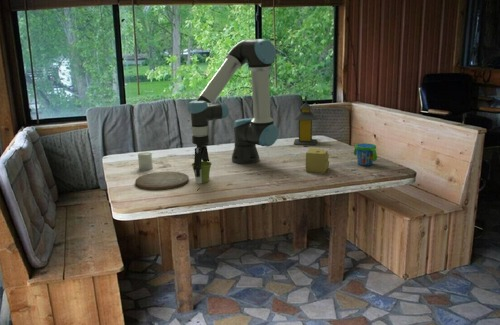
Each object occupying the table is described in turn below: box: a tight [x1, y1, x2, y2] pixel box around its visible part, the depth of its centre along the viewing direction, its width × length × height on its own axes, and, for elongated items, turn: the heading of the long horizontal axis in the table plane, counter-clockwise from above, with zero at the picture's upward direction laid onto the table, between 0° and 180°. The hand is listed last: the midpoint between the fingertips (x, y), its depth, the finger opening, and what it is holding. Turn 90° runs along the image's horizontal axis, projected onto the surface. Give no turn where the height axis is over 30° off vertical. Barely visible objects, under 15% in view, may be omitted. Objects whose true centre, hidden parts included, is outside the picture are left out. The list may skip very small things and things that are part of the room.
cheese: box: [305, 147, 330, 174], centre depth 239 cm, size 10×11×10 cm
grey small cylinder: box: [137, 151, 154, 172], centre depth 247 cm, size 7×7×8 cm
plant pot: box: [191, 161, 212, 184], centre depth 223 cm, size 9×9×9 cm
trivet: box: [135, 171, 190, 191], centre depth 225 cm, size 25×25×2 cm
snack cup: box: [353, 143, 378, 166], centre depth 247 cm, size 16×10×10 cm
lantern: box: [293, 94, 318, 146], centre depth 296 cm, size 14×14×30 cm
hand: (202, 178), depth 224 cm, fingers open, 13 cm apart
